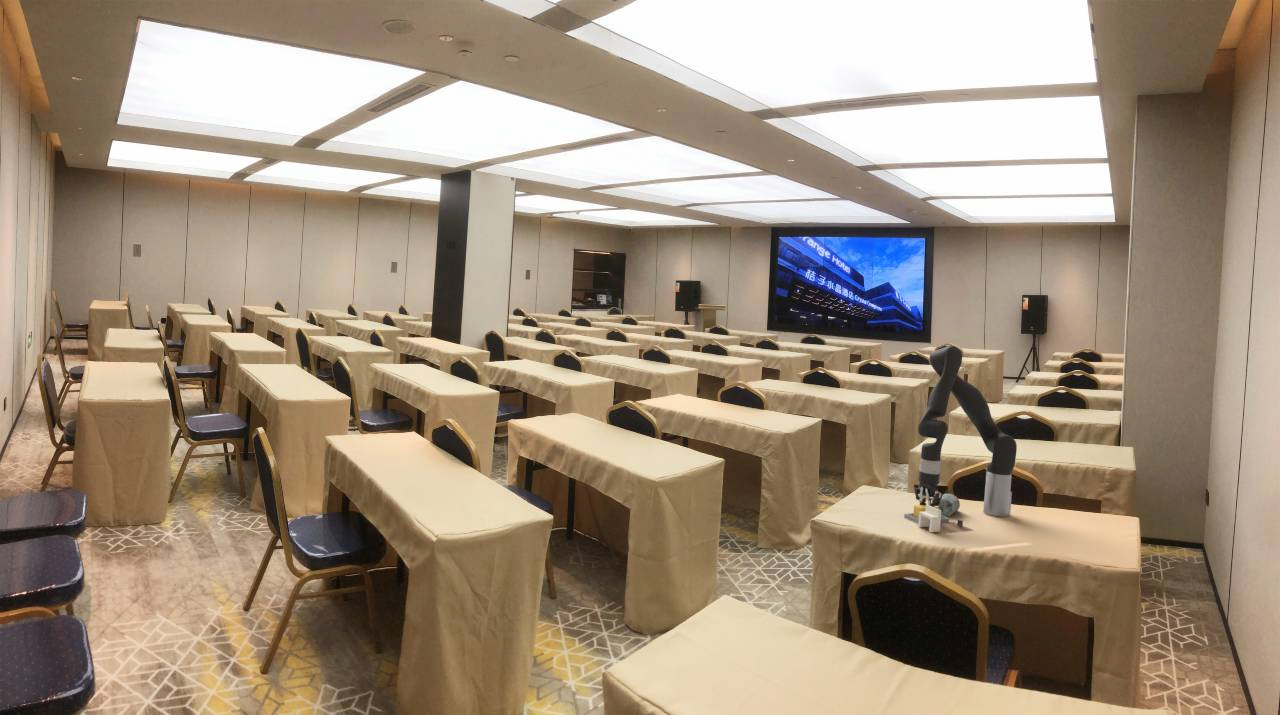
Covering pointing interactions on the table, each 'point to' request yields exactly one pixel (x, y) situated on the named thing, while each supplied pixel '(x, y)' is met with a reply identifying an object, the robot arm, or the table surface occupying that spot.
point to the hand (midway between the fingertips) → (926, 513)
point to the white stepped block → (930, 514)
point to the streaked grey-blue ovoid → (948, 504)
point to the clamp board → (950, 527)
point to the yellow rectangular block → (920, 509)
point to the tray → (912, 518)
